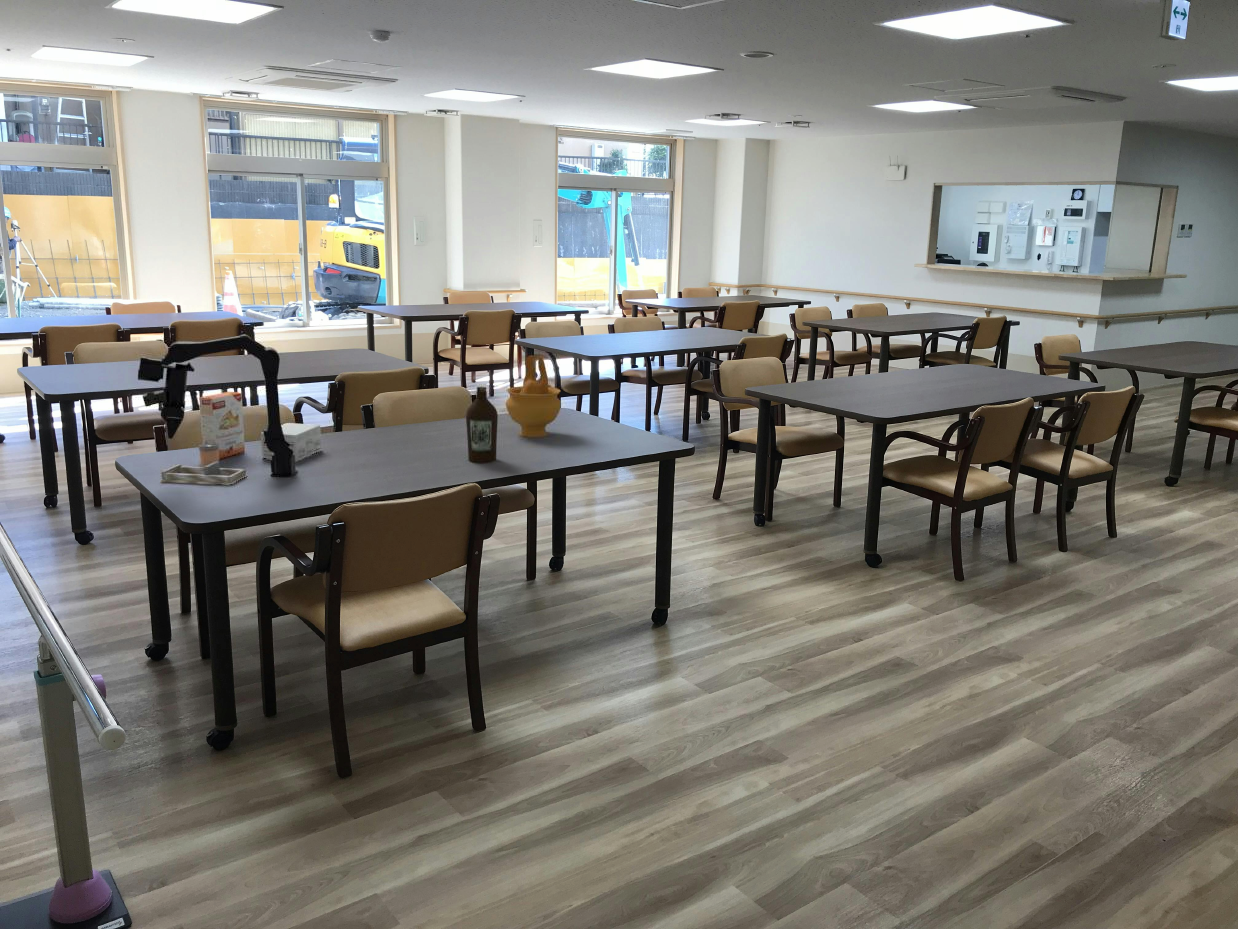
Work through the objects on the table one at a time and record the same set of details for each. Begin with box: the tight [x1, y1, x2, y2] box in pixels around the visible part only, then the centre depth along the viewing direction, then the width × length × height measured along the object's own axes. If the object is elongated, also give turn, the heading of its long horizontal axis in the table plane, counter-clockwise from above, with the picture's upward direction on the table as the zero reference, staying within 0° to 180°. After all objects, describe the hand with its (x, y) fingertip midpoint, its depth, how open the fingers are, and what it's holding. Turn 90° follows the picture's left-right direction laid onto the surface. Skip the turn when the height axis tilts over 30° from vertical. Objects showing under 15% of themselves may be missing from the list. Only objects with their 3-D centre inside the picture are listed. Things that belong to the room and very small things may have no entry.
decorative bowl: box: [505, 355, 562, 438], centre depth 373 cm, size 21×21×30 cm
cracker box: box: [198, 391, 246, 460], centre depth 329 cm, size 14×6×21 cm, turn 160°
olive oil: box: [465, 386, 499, 464], centre depth 331 cm, size 11×11×25 cm
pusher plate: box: [204, 461, 220, 475], centre depth 301 cm, size 1×7×4 cm, turn 174°
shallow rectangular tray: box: [160, 463, 248, 486], centre depth 301 cm, size 22×11×3 cm, turn 84°
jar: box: [198, 443, 221, 468], centre depth 312 cm, size 6×6×8 cm
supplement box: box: [260, 422, 323, 462], centre depth 334 cm, size 17×13×9 cm
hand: (170, 435), depth 294 cm, fingers open, 9 cm apart
